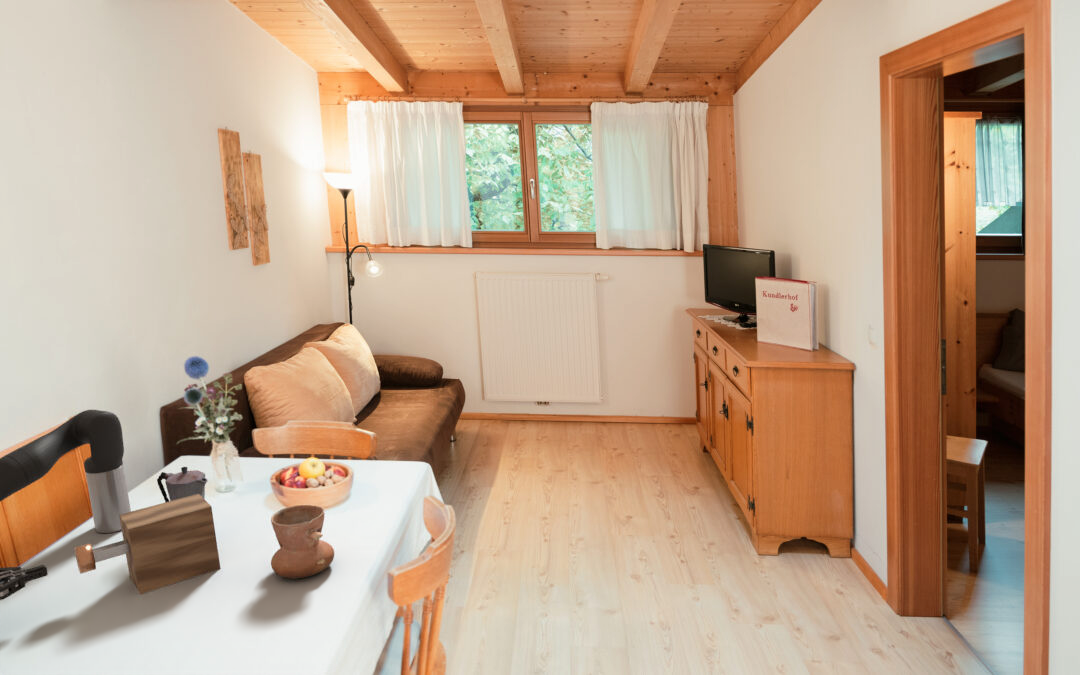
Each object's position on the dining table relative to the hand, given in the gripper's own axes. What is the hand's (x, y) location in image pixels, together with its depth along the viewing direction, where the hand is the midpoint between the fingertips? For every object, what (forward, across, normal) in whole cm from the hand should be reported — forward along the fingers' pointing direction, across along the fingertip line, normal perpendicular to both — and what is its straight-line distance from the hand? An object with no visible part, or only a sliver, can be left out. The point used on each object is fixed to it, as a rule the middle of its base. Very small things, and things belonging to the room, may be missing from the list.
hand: (46, 569), depth 178 cm
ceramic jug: (+49, -20, +10) cm, 54 cm away
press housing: (+25, 0, +10) cm, 27 cm away
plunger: (+17, 0, +3) cm, 17 cm away
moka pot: (+33, +18, +10) cm, 39 cm away
